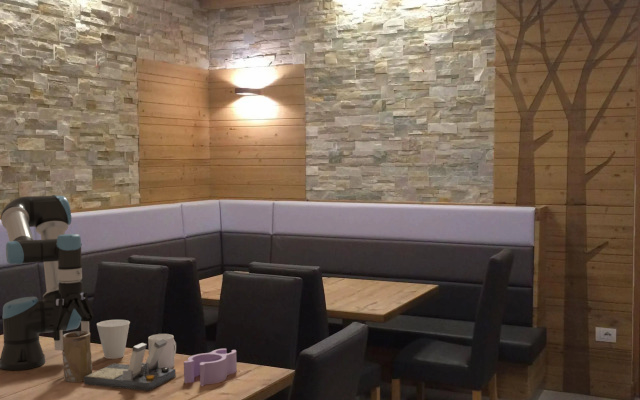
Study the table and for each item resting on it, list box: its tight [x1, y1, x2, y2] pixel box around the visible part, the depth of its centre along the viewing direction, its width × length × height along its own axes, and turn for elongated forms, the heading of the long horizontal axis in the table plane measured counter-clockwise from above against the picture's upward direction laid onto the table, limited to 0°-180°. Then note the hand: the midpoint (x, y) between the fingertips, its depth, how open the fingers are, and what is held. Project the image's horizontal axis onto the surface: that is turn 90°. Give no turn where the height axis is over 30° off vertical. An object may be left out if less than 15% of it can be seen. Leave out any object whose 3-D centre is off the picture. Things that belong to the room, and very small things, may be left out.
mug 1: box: [62, 330, 93, 383], centre depth 243 cm, size 9×13×15 cm
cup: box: [96, 319, 131, 360], centre depth 270 cm, size 12×12×12 cm
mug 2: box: [147, 333, 177, 369], centre depth 256 cm, size 9×12×11 cm
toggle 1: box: [128, 342, 147, 377], centre depth 234 cm, size 2×5×11 cm, turn 161°
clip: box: [183, 348, 237, 387], centre depth 243 cm, size 20×12×7 cm, turn 150°
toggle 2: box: [144, 339, 167, 369], centre depth 242 cm, size 2×5×11 cm, turn 161°
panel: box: [83, 359, 176, 392], centre depth 240 cm, size 24×17×6 cm
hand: (72, 345), depth 243 cm, fingers open, 13 cm apart
